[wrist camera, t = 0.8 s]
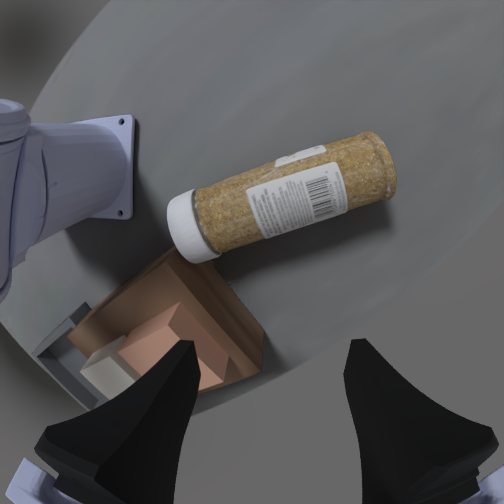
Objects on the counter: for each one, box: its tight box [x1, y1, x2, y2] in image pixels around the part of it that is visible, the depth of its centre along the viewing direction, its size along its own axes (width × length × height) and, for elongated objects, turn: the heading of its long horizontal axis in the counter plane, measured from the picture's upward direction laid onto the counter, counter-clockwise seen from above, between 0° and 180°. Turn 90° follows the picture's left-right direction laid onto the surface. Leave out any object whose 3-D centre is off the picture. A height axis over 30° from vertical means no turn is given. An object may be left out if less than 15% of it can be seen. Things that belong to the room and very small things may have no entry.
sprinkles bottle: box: [167, 131, 396, 264], centre depth 16 cm, size 5×5×14 cm
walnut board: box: [67, 245, 264, 395], centre depth 20 cm, size 14×10×5 cm
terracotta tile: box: [117, 301, 229, 391], centre depth 16 cm, size 5×5×2 cm
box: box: [31, 302, 109, 411], centre depth 25 cm, size 14×12×3 cm
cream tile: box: [80, 335, 142, 400], centre depth 18 cm, size 5×5×2 cm
